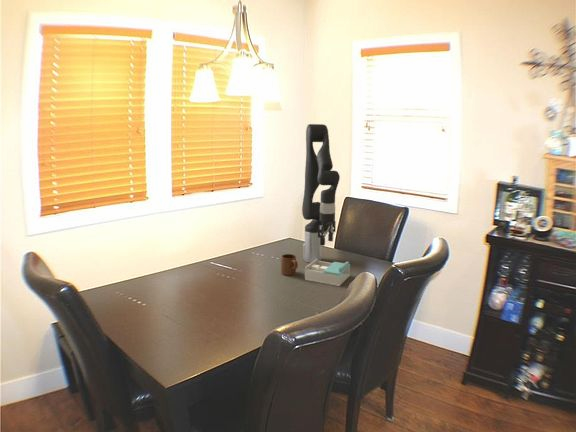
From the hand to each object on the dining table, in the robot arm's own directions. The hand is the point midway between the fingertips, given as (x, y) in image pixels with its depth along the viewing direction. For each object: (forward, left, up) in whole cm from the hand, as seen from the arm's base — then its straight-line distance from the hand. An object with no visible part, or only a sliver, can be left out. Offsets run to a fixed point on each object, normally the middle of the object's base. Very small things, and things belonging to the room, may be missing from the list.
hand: (326, 243), depth 222 cm
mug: (-17, -5, -18) cm, 26 cm away
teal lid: (+6, 0, -13) cm, 14 cm away
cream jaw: (-1, 0, -17) cm, 17 cm away
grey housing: (+1, 0, -18) cm, 18 cm away
